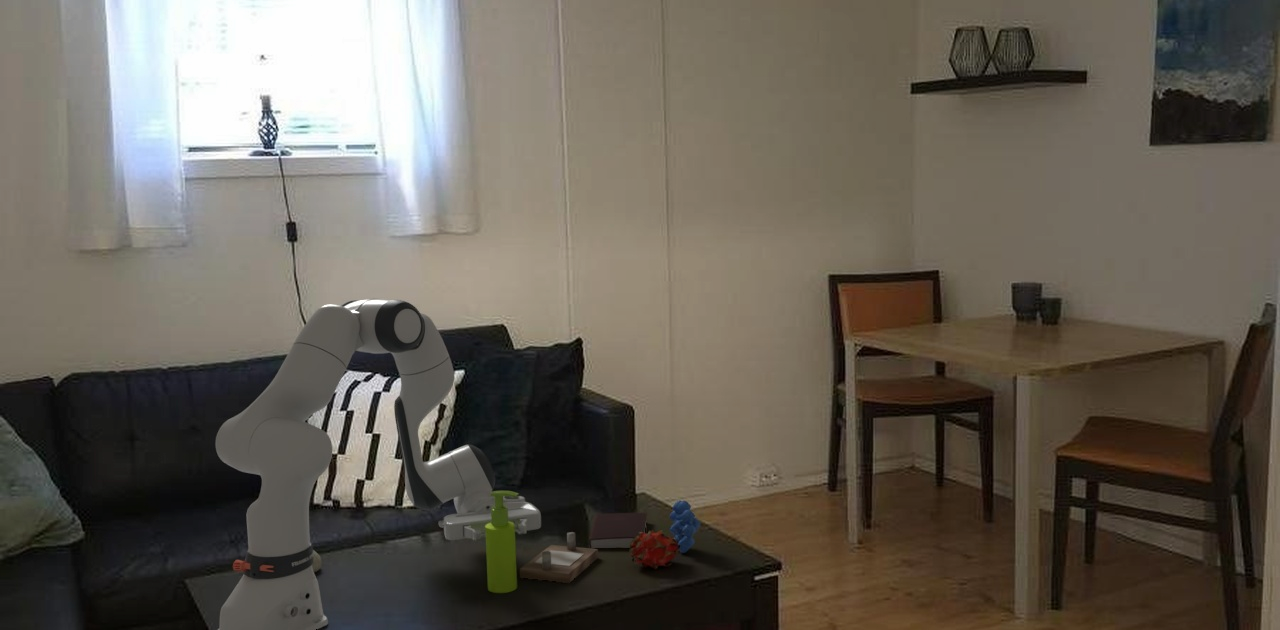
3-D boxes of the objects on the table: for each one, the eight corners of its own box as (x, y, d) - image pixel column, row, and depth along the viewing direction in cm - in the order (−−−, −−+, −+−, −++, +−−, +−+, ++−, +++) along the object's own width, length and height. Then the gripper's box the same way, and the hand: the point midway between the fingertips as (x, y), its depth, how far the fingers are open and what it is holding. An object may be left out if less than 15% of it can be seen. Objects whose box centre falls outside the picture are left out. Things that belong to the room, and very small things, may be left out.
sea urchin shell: (265, 570, 236) (279, 536, 241) (282, 586, 242) (296, 553, 247) (303, 573, 233) (316, 538, 238) (319, 590, 239) (332, 556, 244)
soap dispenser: (516, 594, 224) (513, 496, 221) (483, 592, 225) (479, 495, 223) (525, 583, 229) (522, 488, 227) (493, 582, 231) (489, 487, 228)
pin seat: (568, 583, 229) (568, 557, 228) (520, 578, 233) (519, 552, 232) (597, 558, 244) (597, 533, 243) (551, 553, 248) (550, 529, 247)
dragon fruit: (624, 576, 237) (676, 576, 241) (638, 563, 230) (691, 563, 235) (619, 537, 241) (670, 538, 246) (633, 523, 235) (685, 524, 239)
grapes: (711, 558, 242) (710, 504, 241) (681, 562, 240) (680, 507, 239) (692, 542, 253) (691, 490, 252) (664, 545, 251) (663, 493, 250)
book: (588, 551, 250) (588, 537, 250) (595, 525, 269) (595, 511, 269) (645, 551, 250) (644, 536, 249) (647, 524, 269) (647, 511, 268)
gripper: (435, 506, 236) (448, 524, 224) (530, 495, 244) (547, 512, 231) (437, 535, 237) (450, 555, 224) (531, 523, 244) (548, 541, 231)
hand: (500, 533), depth 228 cm, fingers open, 8 cm apart
